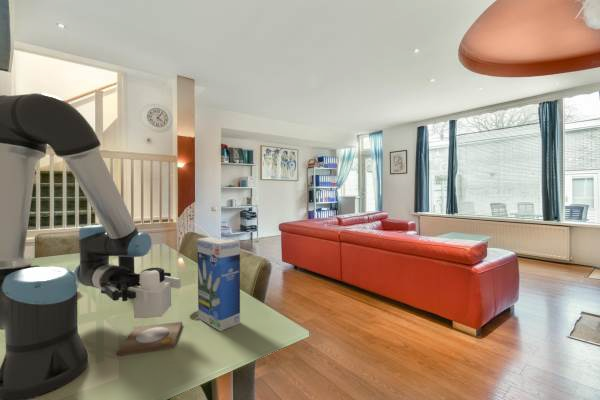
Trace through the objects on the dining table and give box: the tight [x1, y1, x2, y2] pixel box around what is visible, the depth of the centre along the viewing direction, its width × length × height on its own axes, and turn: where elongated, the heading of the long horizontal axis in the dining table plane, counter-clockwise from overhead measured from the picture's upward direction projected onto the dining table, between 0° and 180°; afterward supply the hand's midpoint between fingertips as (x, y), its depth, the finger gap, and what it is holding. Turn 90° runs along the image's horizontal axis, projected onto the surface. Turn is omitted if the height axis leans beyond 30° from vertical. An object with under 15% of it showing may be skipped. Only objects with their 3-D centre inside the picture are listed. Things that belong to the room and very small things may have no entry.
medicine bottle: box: [133, 267, 172, 319], centre depth 77 cm, size 7×7×12 cm
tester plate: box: [116, 321, 183, 357], centre depth 77 cm, size 13×13×2 cm
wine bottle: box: [117, 256, 135, 273], centre depth 120 cm, size 6×6×30 cm
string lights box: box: [196, 235, 241, 332], centre depth 87 cm, size 13×8×26 cm, turn 48°
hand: (163, 289), depth 75 cm, fingers closed on medicine bottle, 9 cm apart
